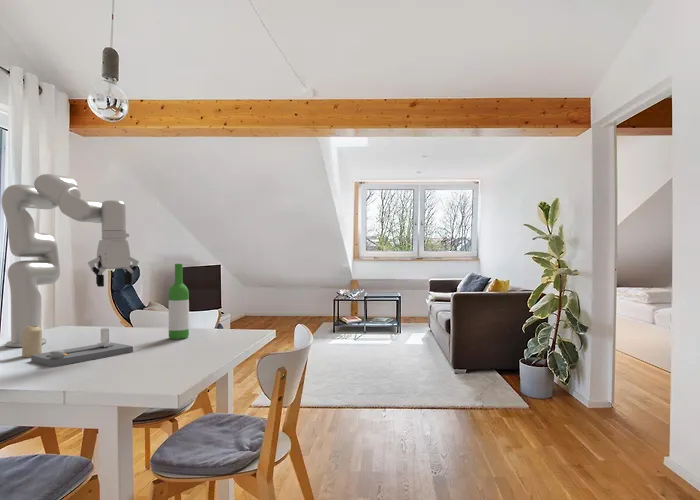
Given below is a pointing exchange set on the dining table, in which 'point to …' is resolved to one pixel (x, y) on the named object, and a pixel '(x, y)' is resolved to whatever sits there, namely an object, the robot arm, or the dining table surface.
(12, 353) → the dining table surface
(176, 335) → the wine bottle
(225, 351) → the dining table surface
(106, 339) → the fader
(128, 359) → the dining table surface
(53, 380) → the dining table surface
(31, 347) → the candle
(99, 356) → the console
